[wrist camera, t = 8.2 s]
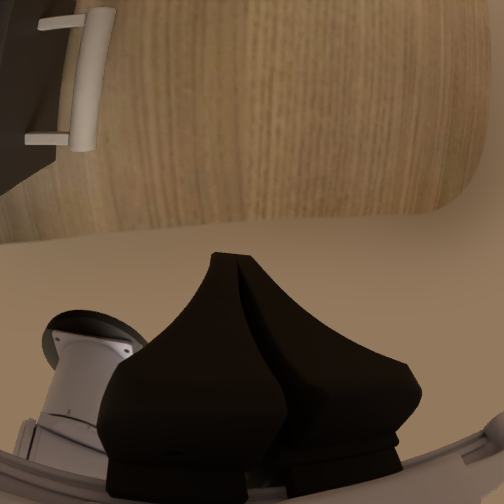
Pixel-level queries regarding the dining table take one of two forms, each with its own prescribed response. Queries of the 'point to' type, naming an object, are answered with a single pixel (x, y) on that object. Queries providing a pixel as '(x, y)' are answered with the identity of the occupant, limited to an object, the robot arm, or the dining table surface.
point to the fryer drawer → (47, 82)
